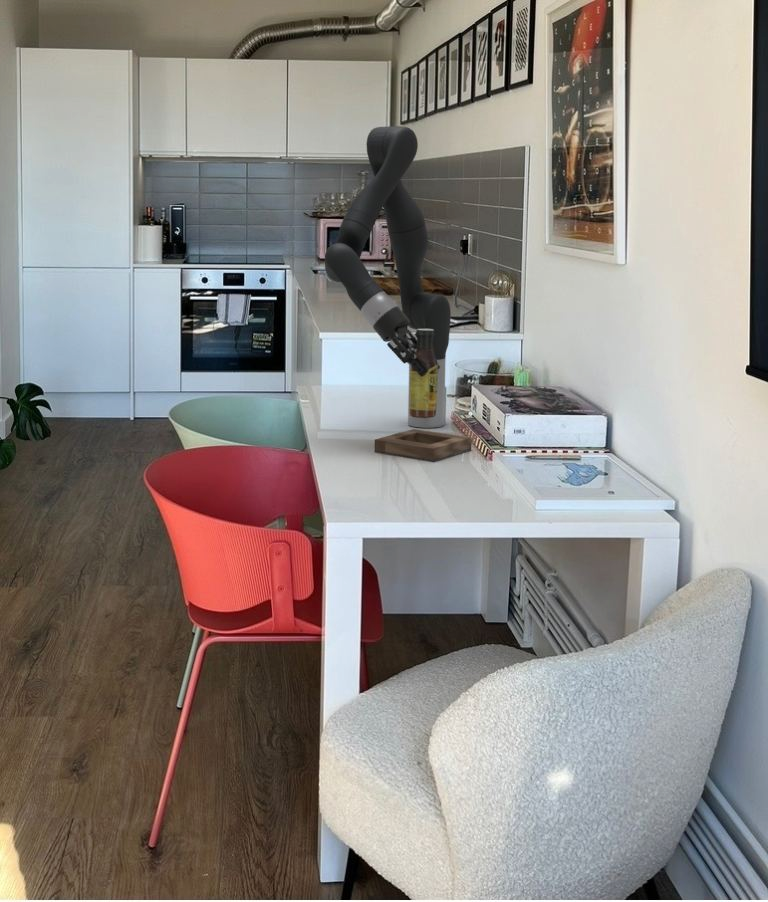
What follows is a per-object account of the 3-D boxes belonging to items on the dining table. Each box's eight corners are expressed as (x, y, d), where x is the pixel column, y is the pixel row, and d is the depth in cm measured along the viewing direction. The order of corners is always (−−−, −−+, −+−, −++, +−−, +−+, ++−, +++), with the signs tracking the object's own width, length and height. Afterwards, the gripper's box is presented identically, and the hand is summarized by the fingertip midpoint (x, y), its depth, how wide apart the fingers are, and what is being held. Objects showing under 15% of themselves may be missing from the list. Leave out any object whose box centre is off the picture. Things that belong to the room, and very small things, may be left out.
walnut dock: (413, 441, 288) (413, 428, 287) (471, 450, 279) (471, 437, 278) (374, 452, 275) (374, 439, 274) (433, 461, 266) (433, 448, 265)
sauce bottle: (433, 419, 271) (436, 331, 267) (406, 418, 273) (409, 330, 268) (438, 414, 278) (441, 328, 273) (411, 413, 279) (414, 327, 275)
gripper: (382, 307, 267) (430, 365, 264) (408, 303, 280) (454, 358, 277) (360, 330, 270) (407, 387, 268) (387, 324, 283) (432, 379, 280)
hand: (431, 372), depth 272 cm, fingers closed on sauce bottle, 6 cm apart
